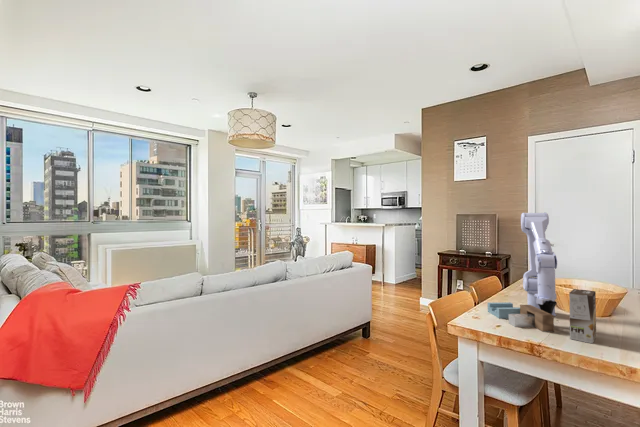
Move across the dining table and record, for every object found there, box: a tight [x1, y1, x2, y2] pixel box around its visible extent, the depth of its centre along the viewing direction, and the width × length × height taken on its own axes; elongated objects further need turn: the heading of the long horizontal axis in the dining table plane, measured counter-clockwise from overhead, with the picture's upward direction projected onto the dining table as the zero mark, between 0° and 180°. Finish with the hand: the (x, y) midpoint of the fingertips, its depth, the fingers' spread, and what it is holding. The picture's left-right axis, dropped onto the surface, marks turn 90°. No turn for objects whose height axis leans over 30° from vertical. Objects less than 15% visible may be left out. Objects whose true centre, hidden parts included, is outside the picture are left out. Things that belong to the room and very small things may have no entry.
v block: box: [487, 301, 520, 320], centre depth 139 cm, size 10×10×4 cm
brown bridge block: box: [519, 304, 555, 332], centre depth 126 cm, size 4×14×6 cm, turn 178°
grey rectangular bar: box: [508, 314, 535, 328], centre depth 126 cm, size 12×4×4 cm, turn 90°
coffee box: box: [569, 288, 597, 344], centre depth 113 cm, size 9×6×16 cm
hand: (547, 319), depth 126 cm, fingers closed
